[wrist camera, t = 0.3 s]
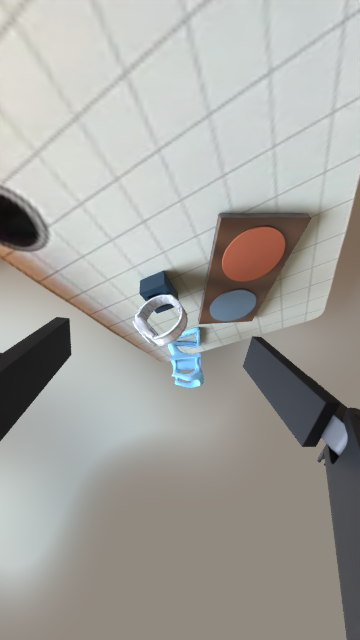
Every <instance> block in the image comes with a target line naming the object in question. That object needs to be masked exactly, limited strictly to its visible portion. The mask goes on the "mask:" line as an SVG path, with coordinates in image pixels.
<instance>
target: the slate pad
mask: <svg viewBox="0 0 360 640" xmlns="http://www.w3.org/2000/svg"><path fill="white" fill-rule="evenodd" d="M255 305H256V297H255V295H254V294H253V293H252V292H251V291H248V290H244V289H236V290H231V291H228V292H225V293H223V294H221V295H220V296H218V297H217V298H216V299H215V300H214V301H213V302H212V304H211V306H210V314H211V316H212V317H213V318H215V319H216V320H219V321H232V320H236V319H239V318H241V317H244V316H245V315H247V314H248V313H249V312H251V311H252V310H253V308H254V307H255Z"/></svg>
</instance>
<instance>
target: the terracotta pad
mask: <svg viewBox="0 0 360 640" xmlns="http://www.w3.org/2000/svg"><path fill="white" fill-rule="evenodd" d="M284 249H285V239H284V236H283V235H282V233H281V232H280V231H279V230H277V229H276V228H273V227H270V226H259V227H255V228H251V229H249V230H247V231H245V232H243V233H241V234H240V235H239V236H237V237H236V238H235V239H234V240H233V241H232V242H231V243H230V244H229V246H228V247H227V249H226V250H225V253H224V255H223V259H222V268H223V271H224V273H225V274H226V275H227V276H228V277H229V278H230V279H232V280H235V281H250V280H254V279H256V278H259V277H261V276H263V275H265V274H266V273H268V272H269V271H270V270H271V269H272V268H273V267H275V265H276V264H277V263H278V262H279V260H280V259H281V257H282V255H283V253H284Z"/></svg>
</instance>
